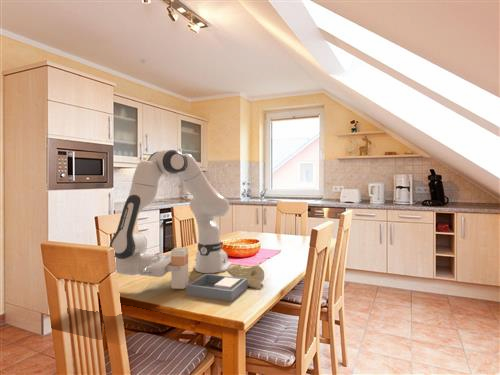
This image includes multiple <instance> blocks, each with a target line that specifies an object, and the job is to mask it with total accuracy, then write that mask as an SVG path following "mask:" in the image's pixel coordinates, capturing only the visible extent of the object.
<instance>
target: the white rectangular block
mask: <svg viewBox="0 0 500 375" xmlns="http://www.w3.org/2000/svg"><path fill="white" fill-rule="evenodd" d="M239 283H240V279H236V278H227V277H225V278H223V279H222V280H221V281H219V282H218V283H216V284H215V285H214V288H219V289H226V290H231V289H233V288H234V287H235V286H236V285H238V284H239Z"/></svg>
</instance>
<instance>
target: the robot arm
mask: <svg viewBox="0 0 500 375" xmlns="http://www.w3.org/2000/svg"><path fill="white" fill-rule="evenodd" d="M201 168H202V167H200V165H199V163H198V162H197V160H196V159H195V157H193V155H192V154H190V153H182V152H181V151H179V150H177V149H176V150H175V149H165V150H160V151H155V152H153V153H152V154H150V156H149V158H148V159H147V160H141V161H140V162H139V163H138V164H137V166H136V168H135V171H134V173H133V176H132V181H131V185H130V189H129V193H128V196H127V198H126V201H125V203H124V206H123V208H122V212H121V216H120V218H119V222H118V226H117V229H116V231H115V233H114V235H113V236H112V238H111V240H110V242H109V248H110V247H112V248H114V250H115V256H114V257H116V270H117V272H116V273H117V274H120V275H125V276H136V275H140V276H148V277H153V278H154V277H156V278H157V277H158V278H160V277H164V276H165V275H166V274H167V273H171V271H178V270H179V269H180V266H177V265H176V266H171V254H168V253H167V254H166V253H165V254H162V252H157V253H153V254H146V251H147V246H148V241H147V237H146V236H145V235H144V234H143V233H141V232H134V230H135V228H136V224H137V219H138V217H139V215H140V213H141V211H142V210H144V209H145V208H146V207H148V206H149V205H151V204H152V203H153V202H154V201H155V199H156V196H157V192H158V187H159V181H160V178H161V176H162V175H170V174H172V175H174V174H177V175H178V176H179V178H180V180H181V182H182V183H183V185H184V187H185V188H186V190H187V192H188V193H189V194H190V195H191V196H193V197H192V198H191V199H190V202H189V208H190V211H191V212H192V213H193V215H194V218H195V220H196V225H197V230H198V232H197V233H198V243H197V251H196V253H195V263H194V264H195V265H193V269H194V270H195V271H196V272H198V273H200V274H201V273H202V274H214V273H221V272H227V269H228V268H231V266H232V264H233V263H232V261H229V260H228V259H229V258H228V253H227V252H226V251H225V250H223V247H222V246H223V245H224V241H221V234H220V233H221V231H220V230H221V229H220V226H219V225H218V223H217V221H216V219H215V218H219V217H220V218H221V217H224V216H226V215H227V214H228V212H229V210H230V202H229V200H228V199H227V198H226V197H224V196H222V195H221V194H220V193H219V192H218V190H216V188H214V187H213V186H212V184H211V183H210V182H209V180H208V179H207V177H206V175H205V174H204V171H203V170H202V169H201Z"/></svg>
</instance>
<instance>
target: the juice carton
mask: <svg viewBox="0 0 500 375" xmlns="http://www.w3.org/2000/svg"><path fill="white" fill-rule="evenodd" d="M170 255H171V266H176V265H177V266H180V269H179V270H178V271H171V272H170V274H171V289H181V290H182V289H183V290H185V289H186V285H187V284H189V283H190V282H189V248H188V247H179V246H177V247H174V248H173V249H171V250H170Z"/></svg>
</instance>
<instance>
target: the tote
mask: <svg viewBox="0 0 500 375" xmlns="http://www.w3.org/2000/svg"><path fill="white" fill-rule="evenodd" d="M225 277H227V278H236V279H240V283H239V284H238V285H236V286H235V287H234V288H233V289H231V290H226V289H219V288H214V285H215V284H216V283H218V282H219V281H221V280H222V279H223V278H225ZM188 283H189V284H187V285H186V288H185V289H186V296H191V297H197V298H203V299H204V298H205V299H210V300H211V299H212V300H218V301H222V302H223V301H224V302H231V303H232V302H233V301H235V299H237V298H238V297H239V296H241V295H242V293H244V292H245V291H246V290H247V289H248V287H249V286H248V279H246V278H238V277H233V276H230V275H229V276H228V275H219V274H214V273H204V274H203V275H201V276H199V277H197V278H196V279H194V280H193V281H191V282H188Z"/></svg>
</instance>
